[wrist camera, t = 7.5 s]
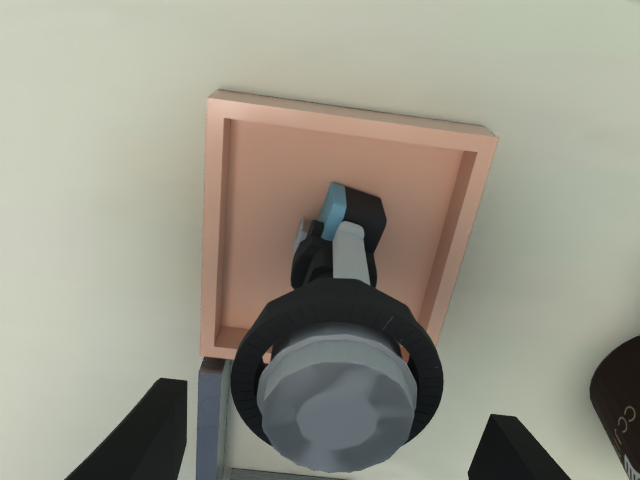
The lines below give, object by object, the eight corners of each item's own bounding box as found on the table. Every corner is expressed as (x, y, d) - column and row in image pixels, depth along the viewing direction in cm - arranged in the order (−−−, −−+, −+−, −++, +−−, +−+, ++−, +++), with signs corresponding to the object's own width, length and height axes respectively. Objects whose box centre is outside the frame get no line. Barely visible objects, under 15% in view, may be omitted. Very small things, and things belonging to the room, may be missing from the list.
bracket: (205, 478, 27) (194, 518, 25) (210, 337, 23) (198, 372, 21) (352, 492, 28) (353, 533, 25) (385, 357, 23) (390, 393, 21)
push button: (357, 326, 22) (378, 545, 13) (246, 293, 21) (188, 501, 12) (416, 199, 19) (495, 366, 10) (291, 157, 19) (258, 297, 10)
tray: (209, 331, 23) (199, 355, 21) (217, 89, 18) (207, 97, 16) (418, 355, 23) (425, 381, 22) (483, 126, 18) (499, 138, 17)
